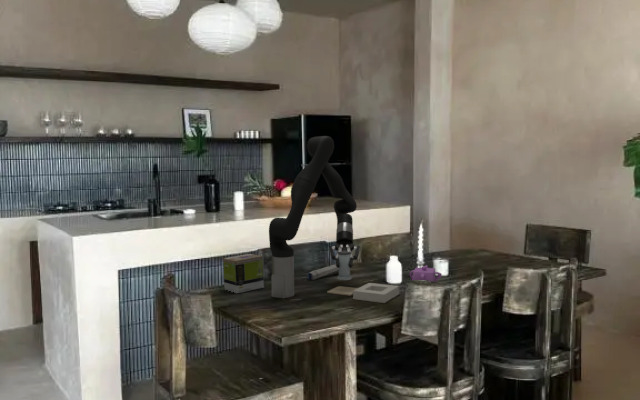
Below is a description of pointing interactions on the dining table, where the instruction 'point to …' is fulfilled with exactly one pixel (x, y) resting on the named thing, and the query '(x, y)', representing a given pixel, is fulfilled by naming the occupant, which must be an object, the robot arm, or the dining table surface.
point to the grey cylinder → (322, 272)
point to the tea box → (243, 273)
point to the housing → (376, 292)
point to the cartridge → (344, 265)
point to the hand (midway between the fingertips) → (344, 266)
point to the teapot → (425, 274)
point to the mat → (342, 290)
